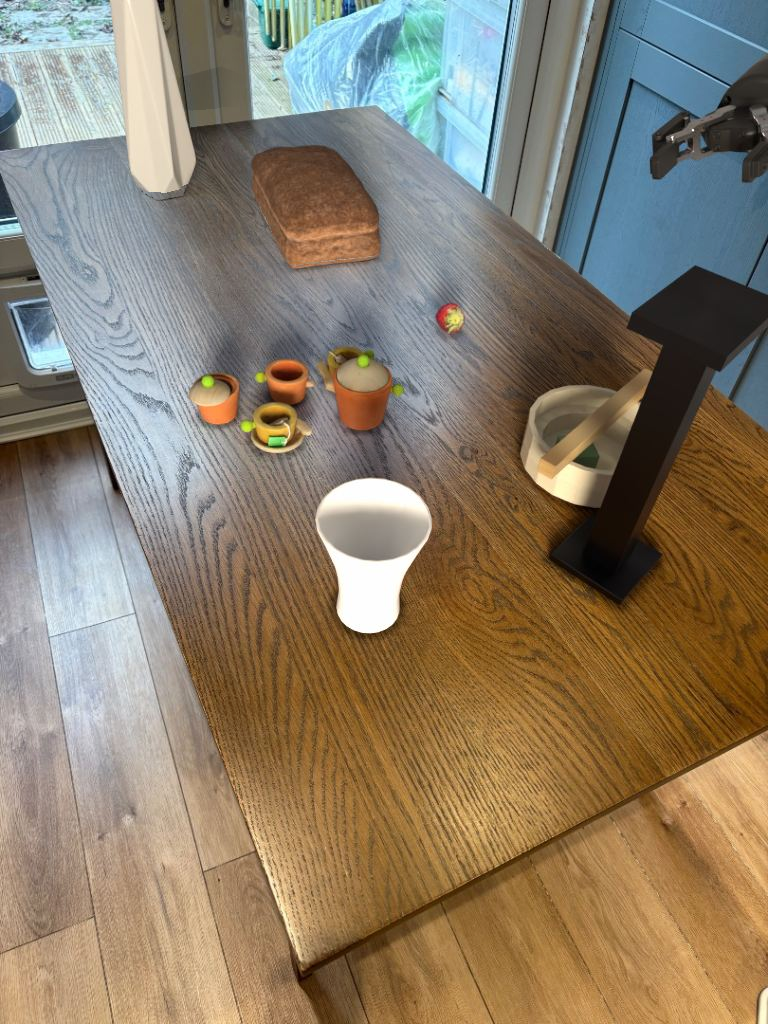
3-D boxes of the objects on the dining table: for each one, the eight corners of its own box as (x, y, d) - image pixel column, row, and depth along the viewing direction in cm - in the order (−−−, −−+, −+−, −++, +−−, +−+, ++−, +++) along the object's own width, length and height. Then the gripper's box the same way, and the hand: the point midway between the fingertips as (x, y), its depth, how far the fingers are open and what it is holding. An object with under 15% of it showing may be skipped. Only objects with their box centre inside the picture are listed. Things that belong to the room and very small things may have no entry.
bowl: (649, 434, 99) (664, 398, 94) (653, 523, 88) (670, 486, 83) (525, 412, 100) (534, 375, 96) (513, 496, 89) (523, 459, 85)
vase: (115, 191, 138) (71, -24, 114) (166, 174, 144) (134, -34, 121) (158, 213, 133) (121, -7, 109) (208, 194, 139) (184, -18, 116)
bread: (335, 188, 144) (336, 125, 136) (384, 262, 126) (388, 195, 117) (248, 196, 140) (243, 131, 132) (285, 274, 121) (282, 205, 113)
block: (581, 458, 94) (589, 434, 91) (591, 480, 91) (600, 456, 88) (550, 460, 93) (557, 435, 90) (559, 482, 90) (567, 458, 88)
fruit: (455, 317, 115) (459, 288, 112) (467, 339, 111) (472, 310, 108) (429, 320, 114) (432, 290, 111) (440, 342, 111) (444, 312, 107)
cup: (295, 609, 76) (290, 519, 66) (363, 551, 82) (368, 461, 72) (372, 670, 72) (380, 583, 62) (439, 605, 78) (455, 516, 68)
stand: (593, 515, 88) (689, 262, 65) (662, 557, 84) (791, 304, 61) (541, 566, 82) (626, 309, 59) (612, 614, 78) (734, 358, 55)
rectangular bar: (639, 380, 97) (644, 367, 95) (653, 387, 96) (658, 374, 94) (536, 471, 84) (540, 458, 82) (551, 480, 83) (555, 466, 81)
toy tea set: (362, 358, 107) (365, 297, 100) (413, 423, 97) (420, 362, 90) (182, 402, 98) (171, 339, 91) (219, 478, 88) (210, 415, 81)
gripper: (704, 61, 78) (625, 130, 71) (857, 50, 69) (783, 128, 62) (704, 135, 82) (630, 206, 76) (846, 134, 74) (777, 215, 67)
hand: (699, 171), depth 69 cm, fingers open, 8 cm apart
